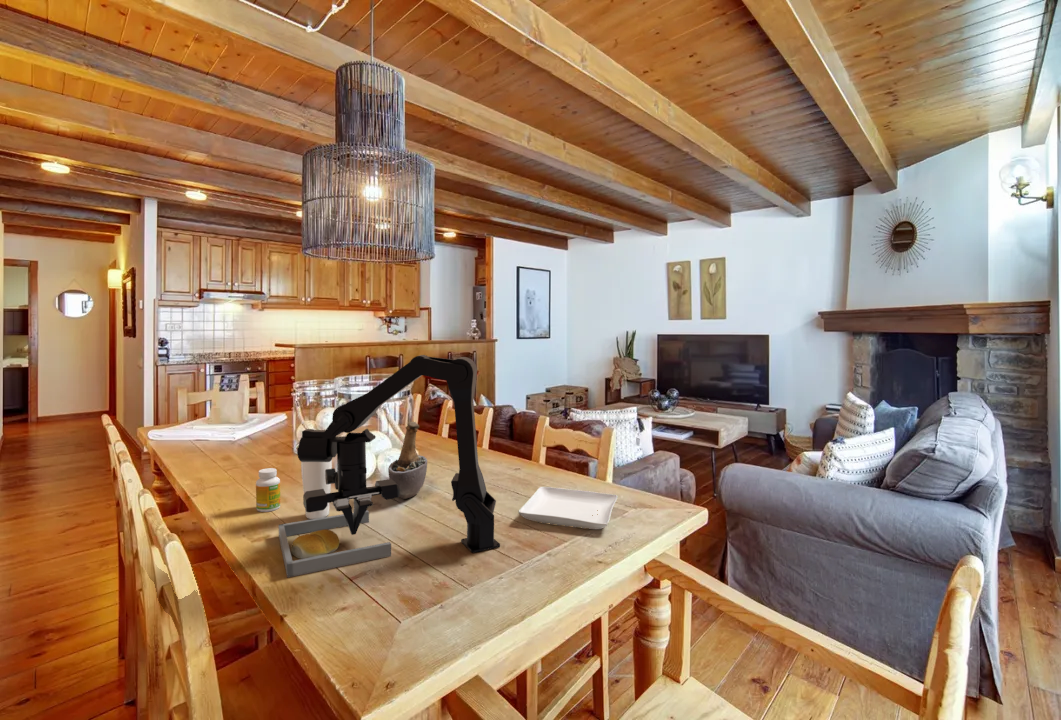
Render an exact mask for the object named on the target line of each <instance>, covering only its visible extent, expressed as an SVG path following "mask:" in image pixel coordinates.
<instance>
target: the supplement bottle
mask: <svg viewBox="0 0 1061 720" xmlns="http://www.w3.org/2000/svg"><path fill="white" fill-rule="evenodd" d="M277 472H278V471H277V469H276V468H275V467H274V468H273V467H269V468H262V469H259V470H258V479H257V480H256V482H255V503H256V504H255V506H256V511H257V512H262V513H265V512H274V511H276V510H278V509H280V507H281V479H280V478H279V477H278V476H277V474H278V473H277Z"/></svg>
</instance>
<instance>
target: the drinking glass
mask: <svg viewBox="0 0 1061 720" xmlns="http://www.w3.org/2000/svg"><path fill="white" fill-rule="evenodd" d="M300 462H301V461H300ZM300 464H301V465H300V466H301V480H302V491H303V494H304V493H305V492H306V491H312V490H319V489H324V491H325V493H326V494H327V493H331V489H332V484H326V479H325V470H326V469H333V459H332V460H331V461H330V462H301V463H300ZM330 503H331V502H330ZM330 503H327V504H328V506H327V507H326V508H325V509H324V510H321V511H315V512H306V510H305V511H304V512H305V514H304V515H305V518H307V519H308V520H311V519H317V518H324V517H329V515H330Z"/></svg>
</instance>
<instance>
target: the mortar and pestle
mask: <svg viewBox="0 0 1061 720" xmlns="http://www.w3.org/2000/svg"><path fill="white" fill-rule="evenodd" d="M419 428H420V424H419V423H417V422H416V421H408V422H407V425H406V427H405V430H406V431H405V435H404V437H403V438H404V439H403V443H402V444H403V445H402V447H401V451H400V454H399V457H398V459H395V460H394V461H393V462H391V463H390V464H389V465H388V470H387V472H388V478H389V479H392V480H393V481H394V482H395V483H396V484H397V485H398V486H399V489H400V497H399V498H400V499H403V500H407V499H410V498H413V497H414V496H416V495H417V494H418V493H420V491H421V488H422V487H423V486H424V484H425V480H426V477H427V469H428V459H427V457H425V456H423V455H419V454H418V453H417V450H416V441H417V440H416V438H417V432H418V429H419Z"/></svg>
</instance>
